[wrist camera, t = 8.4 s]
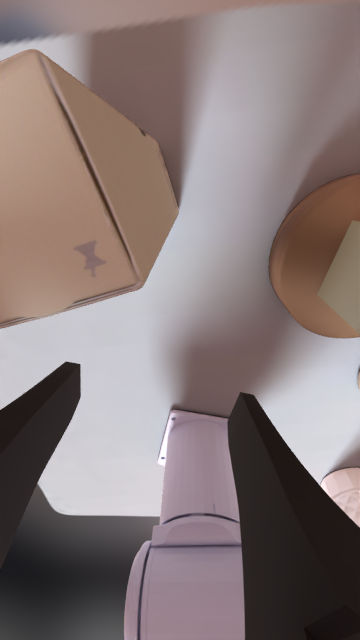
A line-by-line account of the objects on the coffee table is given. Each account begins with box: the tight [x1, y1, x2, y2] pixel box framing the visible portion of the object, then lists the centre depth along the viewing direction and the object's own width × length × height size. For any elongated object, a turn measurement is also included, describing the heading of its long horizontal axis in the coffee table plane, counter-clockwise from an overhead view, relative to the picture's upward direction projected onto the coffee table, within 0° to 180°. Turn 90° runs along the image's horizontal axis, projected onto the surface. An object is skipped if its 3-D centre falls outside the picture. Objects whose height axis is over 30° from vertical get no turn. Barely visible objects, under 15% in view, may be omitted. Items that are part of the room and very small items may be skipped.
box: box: [0, 49, 179, 329], centre depth 11 cm, size 5×4×13 cm
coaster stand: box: [269, 174, 360, 338], centre depth 16 cm, size 10×10×3 cm
